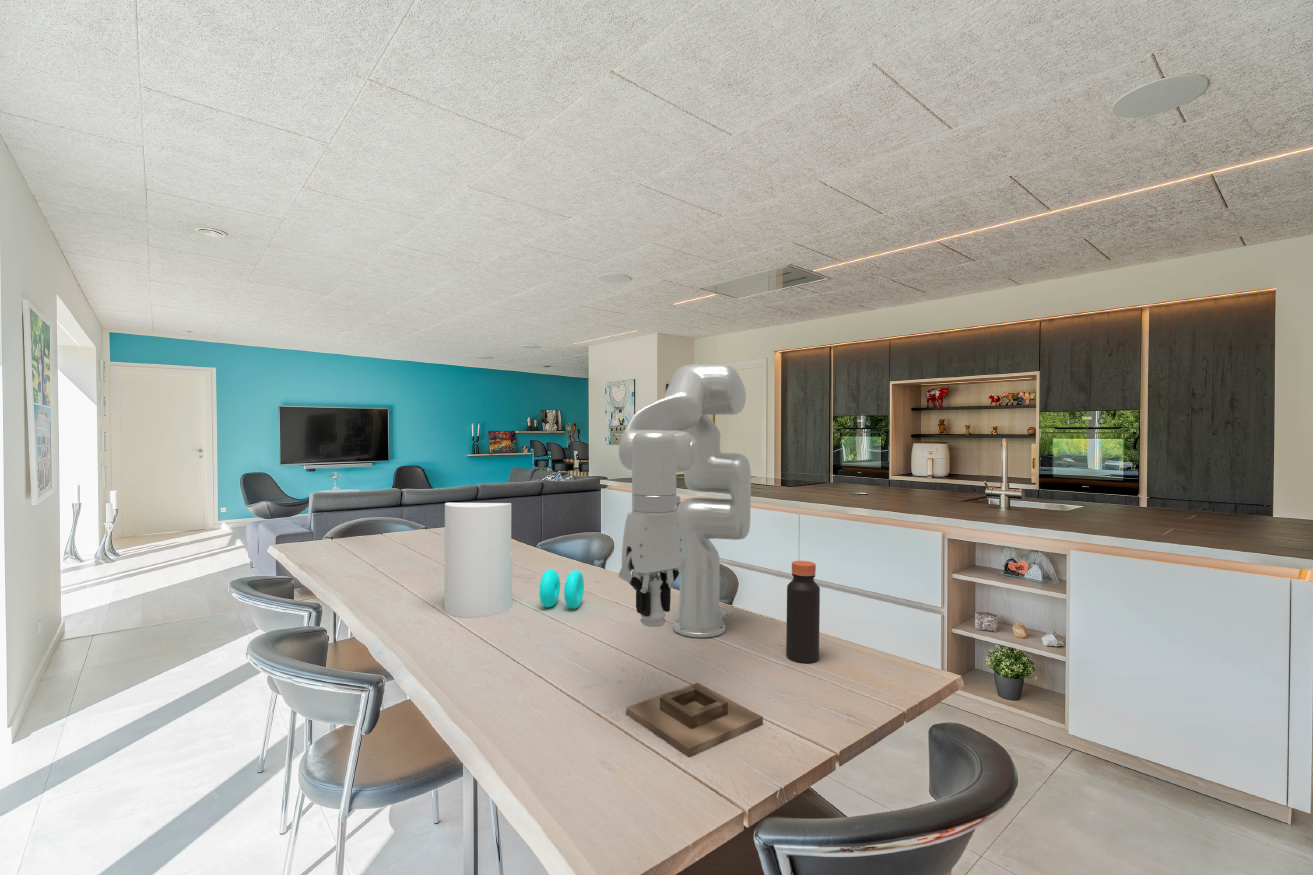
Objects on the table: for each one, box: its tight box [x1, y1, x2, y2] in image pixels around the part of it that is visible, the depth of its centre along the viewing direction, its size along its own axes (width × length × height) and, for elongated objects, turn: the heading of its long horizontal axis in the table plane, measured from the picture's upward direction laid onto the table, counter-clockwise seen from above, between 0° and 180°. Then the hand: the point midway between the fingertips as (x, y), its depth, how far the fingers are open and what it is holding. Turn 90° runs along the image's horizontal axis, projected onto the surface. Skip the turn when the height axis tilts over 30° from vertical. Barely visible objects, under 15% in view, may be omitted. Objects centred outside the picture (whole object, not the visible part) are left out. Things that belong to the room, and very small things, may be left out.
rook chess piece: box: [639, 574, 667, 628], centre depth 99 cm, size 4×4×8 cm
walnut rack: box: [625, 682, 764, 758], centre depth 97 cm, size 16×16×3 cm
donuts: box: [539, 568, 585, 610], centre depth 157 cm, size 10×10×10 cm
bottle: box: [785, 560, 821, 664], centre depth 123 cm, size 7×7×20 cm
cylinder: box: [444, 502, 513, 619], centre depth 156 cm, size 17×17×28 cm
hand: (653, 610), depth 99 cm, fingers closed on rook chess piece, 3 cm apart
